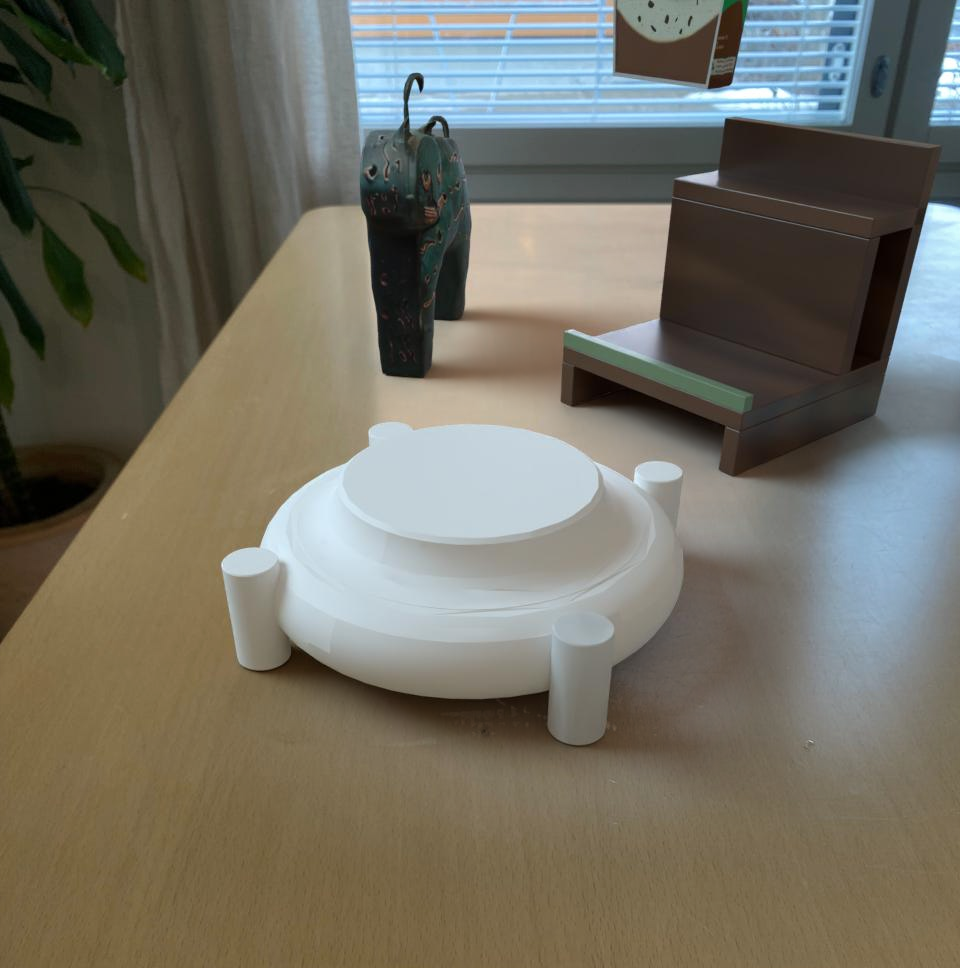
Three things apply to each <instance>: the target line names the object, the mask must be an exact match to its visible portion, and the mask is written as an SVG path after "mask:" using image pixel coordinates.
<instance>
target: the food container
mask: <svg viewBox="0 0 960 968" xmlns="http://www.w3.org/2000/svg"><path fill="white" fill-rule="evenodd" d="M749 3H750V0H613V17H612V18H613V22H612V23H613V28H612V29H613V30H612V33H613V34H612V41H613V42H612V76H613V77H616V78H618V77H619V78H623V79H624V78H625V79H632V80H639V81H646V82H653V83H661V84H665V85H666V84H667V85H674V86H680V87H689V88H695V89H702V90H713V89H715V90H716V89H720V88H725V87H730V86H731V85H732V84H733V81H734V77H735V76H734V75H735V71H736V66H737V62H738V57H739V51H740V48H741V47H740V46H741V44H742V43H741V42H742V39H743V32H744V28H745V23H746V17H747V13H748V10H749V9H748V8H749Z"/></svg>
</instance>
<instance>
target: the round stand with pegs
mask: <svg viewBox="0 0 960 968" xmlns="http://www.w3.org/2000/svg"><path fill="white" fill-rule="evenodd" d="M368 445H369V446H368V447H366V448H364V449H362V450H361V451H359V452H358V453H357V454H355V455H354V456H353V457H351V458H350V459H349V460H348V461H347V462H346V463H345V462H344V463H343V464H341V465H338V466H336V467H333V468H331V469H329V470H327V471H325V472H323V473H321V474H320V475H318V476H316V477H315V478H313V479H311V480H310V481H308V482H307V483H305V484H304V485H302V486H301V487H300V488H299V489H297V490H296V491H295V492H294V493H292V494H291V495H290V496H289V497H288V498H287V500H285V502H283V503H282V504H281V506H280V507H279V508H278V510H277V511H276V512H275V514H274V515H273V517H272V518H271V520H270V521H269V523H268V524H267V527H266V529H265V531H264V534H263V536H262V540H261V543H260V544H259V547H255V546H254V547H245V548H241V549H237V550H234V551H232V552H231V553H229V554H227V555H226V556H225V557H224V558H223V559H222V561H221V565H220V566H221V572H222V578H223V584H224V589H225V595H226V599H227V606H228V611H229V617H230V623H231V629H232V634H233V641H234V645H235V646H234V647H235V651H236V656H237V661H238V664H240V665H241V666H242V667H244V668H246V669H249V670H252V671H269V670H273V669H276V668H279V667H280V666H282V665H284V664H285V663H286V662H287V661H288V660H289V659H290V658H291V655H292V648H291V647H292V646H291V641H292V642H293V643H294V644H295V645H296V646H297V647H299V648H300V649H301V650H303V652H305V653H307V654H308V655H309V656H311V657H312V658H314V659H315V660H316V661H318V662H320V664H323V665H325V666H327V667H328V668H330V669H332V670H334V671H335V672H338V673H340V674H342V675H344V676H347V677H349V678H352V679H355V680H357V681H359V682H362V683H364V684H368V685H371V686H375V687H378V688H381V689H386V690H389V691H393V692H398V693H404V694H409V695H415V696H420V697H428V698H429V697H430V698H438V699H439V698H440V699H450V700H451V699H452V700H453V699H454V700H456V699H457V700H458V699H459V700H487V699H500V698H501V699H502V698H512V697H518V696H524V695H525V696H527V695H532V694H538V693H543V692H547V691H548V708H547V722H546V723H547V724H546V725H547V726H546V727H547V730H548V732H549V733H550V734H551V736H552V737H553V738H554V739H556V740H558V741H559V742H562V743H564V744H567V745H571V746H586V745H590V744H593V743H595V742H597V741H599V740H600V739H601V738H603V736H604V735H605V733H606V729H607V728H606V727H607V718H608V708H609V697H610V690H611V689H610V688H611V680H612V679H611V678H612V670H613V669H612V668H613V667H615V666H616V665H618V664H619V663H621V662H622V661H624V660H626V659H627V658H628V657H630V656H631V655H633V654H634V653H637V651H639V650H640V649H642V648H643V646H645V644H647V643H649V641H650V640H651V639H652V638H653V637H654V636H655V635H656V634H657V633H658V631H659V630H660V629H661V628H662V627H663V626H664V624H665V623H666V621H667V620H668V619H669V617H670V616H671V614H672V612H673V610H674V607H675V605H676V603H677V601H678V599H679V596H680V593H681V589H682V585H683V579H684V551H683V547H682V544H681V541H680V538H679V535H678V531H677V526H678V518H679V511H680V510H679V509H680V502H681V494H682V489H683V488H682V487H683V481H684V471H683V470H682V468H681V467H679V466H678V465H676V464H674V463H672V462H669V461H668V462H667V461H661V460H650V461H646V462H645V461H644V462H641V463H640V464H638V465H637V466H636V467H634V468H635V469H634V476H633V480H631V479H629V478H627V477H626V476H624V474H622V473H619V472H618V471H616V470H614V469H612V468H610V467H608V466H606V465H604V464H601V463H599V462H597V461H594V460H593V459H591V458H590V457H589V456H588V455H587V454H586V453H584V451H583V452H582V451H581V450H580V449H579V448H576V447H575V446H572V445H570V444H568V443H567V442H566V441H563V440H561V439H560V438H556V437H554V436H551V435H548V434H544V433H540V432H537V431H533V430H529V429H525V428H520V427H519V428H518V427H512V426H506V425H505V426H504V425H498V424H481V423H480V424H477V423H459V424H458V423H457V424H456V423H455V424H446V425H438V426H430V427H429V426H428V427H422V428H417V429H413V428H412V427H411V426H410V425H409V424H407V423H404V422H398V421H386V422H380V423H377V424H374V425H373V426H371V427H370V428H369V429H368Z"/></svg>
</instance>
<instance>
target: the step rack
mask: <svg viewBox="0 0 960 968" xmlns="http://www.w3.org/2000/svg"><path fill="white" fill-rule="evenodd" d="M721 139H722V140H721V145H720V146H721V148H720V153H719V154H720V155H719V162H718V169H717V170H713V171H708V172H704V173H698V174H691V175H687V176H686V175H685V176H680V177H675V178H674V179H673V187H672V197H671V205H670V215H669V223H668V233H667V242H666V251H665V259H664V260H665V262H664V270H663V277H662V290H661V298H660V299H661V300H660V307H659V315H658V316H659V318H655V319H651V320H648V321H643V322H641V323H638V324H633V325H631V326H627V327H624V328H620V329H617V330H613V331H610V332H606V333H603V334H598V335H595V336H592V335H589V334H587V333H583V332H582V331H578V330H575V329H572V328H571V329H568V330H564V331H563V349H562V350H563V352H562V364H561V384H560V385H561V387H560V402H561V403H563V404H566V405H568V406H570V407H573V406H575V405H580V404H582V403H585V402H589V401H591V400H594V399H598V398H600V397H604V396H606V395H609V394H612V393H615V392H618V391H621V390H625V389H627V388H629V389H631V390H634V391H637V392H639V393H642V394H644V395H647V396H649V397H652V398H654V399H656V400H659V401H662V402H664V403H667V404H669V405H671V406H675V407H677V408H679V409H682V410H684V411H686V412H687V411H688V412H689V413H692V414H695V415H697V416H700V417H702V418H705V419H708V420H710V421H713V422H715V423H717V424H720V425H723V426H725V427H724V433H723V438H722V445H721V451H720V458H719V464H718V470H719V471H720V472H722V473H725V474H728V475H730V476H731V477H732V476H736V475H739V474H740V473H742V472H745V471H747V470H749V469H752V468H755V467H757V466H759V465H761V464H764V463H766V462H768V461H771V460H773V459H775V458H778V457H780V456H783V455H784V454H786V453H789V452H792V451H793V450H795V449H798V448H800V447H803V446H806V445H807V444H809V443H810V444H811V443H812V442H814V441H816V440H819V439H822V438H823V437H826V436H828V435H830V434H833V433H835V432H837V431H839V430H842V429H845V428H846V427H849V426H851V425H853V424H856V423H858V422H860V421H864V420H865V419H867V418H870V417H872V416H874V415H876V413H877V410H878V405H879V401H880V397H881V393H882V390H883V385H884V382H885V378H886V373H887V369H888V366H889V361H890V358H891V354H892V350H893V346H894V341H895V338H896V334H897V330H898V326H899V322H900V317H901V314H902V310H903V306H904V303H905V297H906V294H907V290H908V286H909V282H910V278H911V274H912V270H913V266H914V263H915V258H916V253H917V250H918V246H919V242H920V239H921V234H922V229H923V226H924V222H925V218H926V214H927V211H928V205H929V202H930V198H931V194H932V190H933V187H934V182H935V178H936V174H937V169H938V166H939V163H940V158H941V154H942V150H943V145H940V144H933V143H927V142H920V141H912V140H905V139H898V138H890V137H883V136H877V135H868V134H863V133H856V132H849V131H842V130H833V129H826V128H820V127H813V126H806V125H799V124H798V125H797V124H791V123H786V122H785V123H784V122H777V121H770V120H763V119H755V118H749V117H743V116H730V117H725V118H724V125H723V131H722V138H721Z"/></svg>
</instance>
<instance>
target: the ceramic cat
mask: <svg viewBox="0 0 960 968" xmlns="http://www.w3.org/2000/svg"><path fill="white" fill-rule="evenodd" d="M415 81H416V83H417V86H418V91H419V93H420V94H422V92H423V90H424V88H425V87H424V86H425V77H424V75H423V74H422V73H421V72H412V73H410V74H409V75H408V76H407V79H406V81H405V83H404V87H403V97H402V99H403V109H402V111H403V121H402V123H401V125H400V126H399V128H398V129H397V130H396V129H395V130H394V129H376V130H372V131H370V132H369V133H368V134H367V136H366V137H365V140H364V142H363V145H362V150H361V156H360V165H359V193H360V194H359V196H360V197H359V198H360V207H361V211H362V213H363V214H364V217H365V222H366V233H367V246H368V251H369V261H370V285H371V287H370V288H371V292H372V297H373V302H374V307H375V313H376V326H377V327H376V328H377V329H376V330H377V346H378V351H379V362H380V368H381V372H382V375H388V376H398V377H409V378H410V377H412V378H425V376H426V375H427V373H428V371H429V370H430V368H431V366H432V364H433V352H434V335H435V319H439V320H447V321H452V320H458V319H461V318H462V317H463V316H464V313H465V307H466V289H467V288H466V286H467V280H468V279H467V278H468V272H469V267H470V253H471V235H472V227H473V223H472V212H471V201H470V196H469V195H470V194H469V188H468V182H467V175H466V171H465V166H464V162H463V157H462V153H461V151H460V150H459V146H458V144H457V142H456V141H455V140H454V139H453V138H451V137H450V128H449V122H448V120H446V118H445V117H444V116H442V115H436V114H435V115H433V116H431V117H430V119H428V121H427V122H426V123H425V124H423V125H422V126H420V127H419V128H417V129H414V130H412V131H411V125H410V123H411V121H410V113H409V112H410V111H409V100H410V97H411V91H412V87H413V86H414V82H415ZM437 122H438V123H440V125H441V127H442V133H443V136H440V135H435V134H433V128H434V127H435V126H436V125H437Z"/></svg>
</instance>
